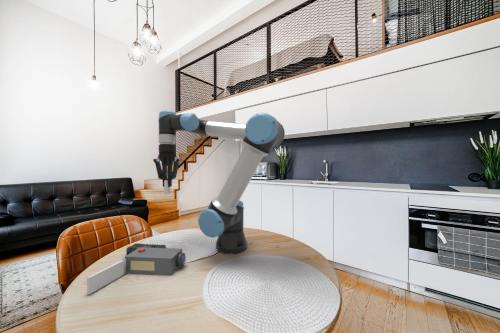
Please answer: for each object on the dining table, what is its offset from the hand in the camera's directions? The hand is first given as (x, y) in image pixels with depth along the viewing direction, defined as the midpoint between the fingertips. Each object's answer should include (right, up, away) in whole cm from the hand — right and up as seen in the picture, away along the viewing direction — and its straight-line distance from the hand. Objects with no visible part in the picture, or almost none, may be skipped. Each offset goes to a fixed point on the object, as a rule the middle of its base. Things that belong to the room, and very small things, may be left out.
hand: (167, 193), depth 96 cm
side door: (-8, -26, -28) cm, 39 cm away
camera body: (+4, -26, -18) cm, 32 cm away
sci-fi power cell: (-7, -27, -7) cm, 29 cm away
